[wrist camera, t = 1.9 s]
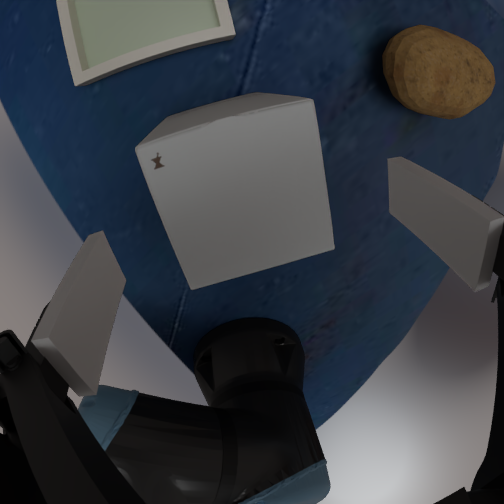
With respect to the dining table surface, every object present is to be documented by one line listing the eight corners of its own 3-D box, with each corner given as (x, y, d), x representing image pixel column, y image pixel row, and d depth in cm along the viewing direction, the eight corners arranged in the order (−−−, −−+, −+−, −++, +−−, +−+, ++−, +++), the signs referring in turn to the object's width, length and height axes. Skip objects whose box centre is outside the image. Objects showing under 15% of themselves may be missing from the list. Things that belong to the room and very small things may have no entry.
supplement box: (191, 202, 31) (186, 296, 18) (164, 116, 26) (126, 145, 13) (281, 178, 31) (338, 254, 18) (261, 90, 26) (316, 95, 13)
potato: (463, 109, 29) (510, 122, 22) (370, 118, 29) (415, 132, 22) (453, 33, 24) (502, 33, 17) (353, 28, 24) (397, 17, 17)
